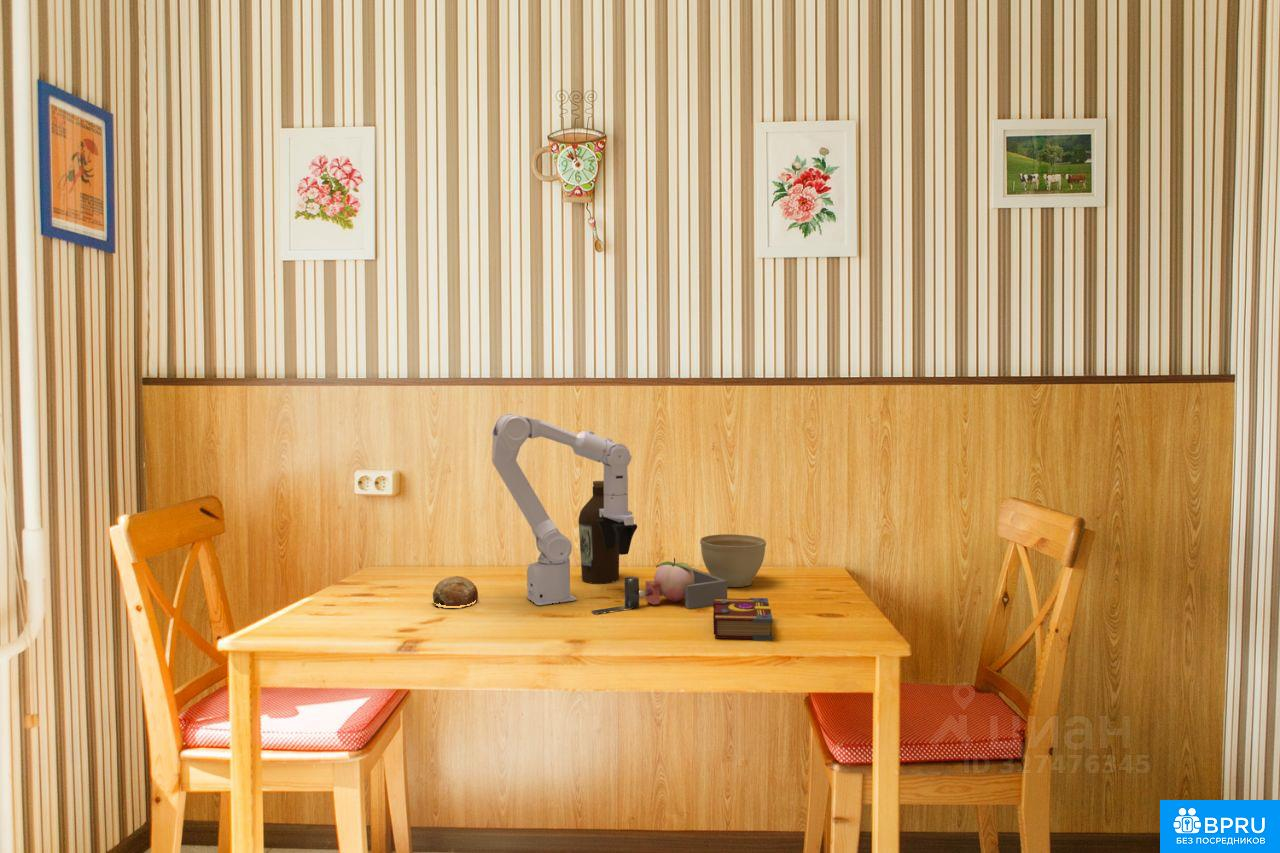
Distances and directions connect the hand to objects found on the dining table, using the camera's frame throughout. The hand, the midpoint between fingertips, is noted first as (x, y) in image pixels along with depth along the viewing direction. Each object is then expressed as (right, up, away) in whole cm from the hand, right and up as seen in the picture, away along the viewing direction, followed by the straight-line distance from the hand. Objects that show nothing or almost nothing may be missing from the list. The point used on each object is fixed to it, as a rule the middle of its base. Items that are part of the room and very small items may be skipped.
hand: (616, 551), depth 183 cm
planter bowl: (+29, -10, +9) cm, 31 cm away
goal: (+17, -10, -6) cm, 20 cm away
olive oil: (-5, -10, +14) cm, 17 cm away
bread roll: (-36, -11, -7) cm, 39 cm away
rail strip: (-1, -11, -15) cm, 18 cm away
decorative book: (+26, -11, -27) cm, 39 cm away
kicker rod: (+6, -10, -11) cm, 16 cm away
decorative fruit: (+13, -10, -8) cm, 19 cm away
